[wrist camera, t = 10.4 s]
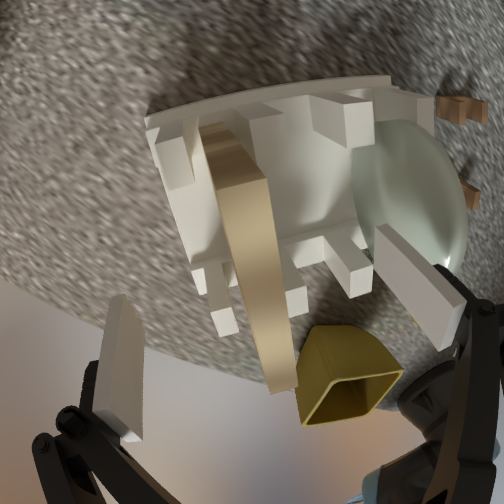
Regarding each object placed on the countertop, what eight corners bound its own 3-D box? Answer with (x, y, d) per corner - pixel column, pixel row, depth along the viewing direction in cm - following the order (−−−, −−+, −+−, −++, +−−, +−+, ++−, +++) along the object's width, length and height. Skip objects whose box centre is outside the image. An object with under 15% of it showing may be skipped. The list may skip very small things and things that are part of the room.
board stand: (459, 195, 29) (477, 208, 26) (431, 203, 29) (451, 217, 26) (464, 95, 23) (487, 102, 20) (435, 95, 22) (459, 102, 20)
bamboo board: (255, 272, 26) (298, 386, 17) (236, 277, 26) (270, 394, 16) (223, 121, 19) (266, 178, 10) (197, 127, 19) (216, 190, 10)
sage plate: (367, 236, 26) (444, 323, 17) (353, 239, 26) (428, 331, 17) (363, 105, 20) (481, 151, 11) (346, 107, 20) (462, 153, 11)
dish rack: (385, 233, 29) (428, 277, 23) (200, 285, 28) (208, 347, 22) (382, 74, 21) (444, 86, 15) (145, 115, 20) (130, 136, 14)
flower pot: (278, 365, 37) (300, 429, 29) (301, 311, 32) (333, 381, 25) (340, 360, 39) (368, 416, 32) (368, 311, 35) (406, 369, 28)
